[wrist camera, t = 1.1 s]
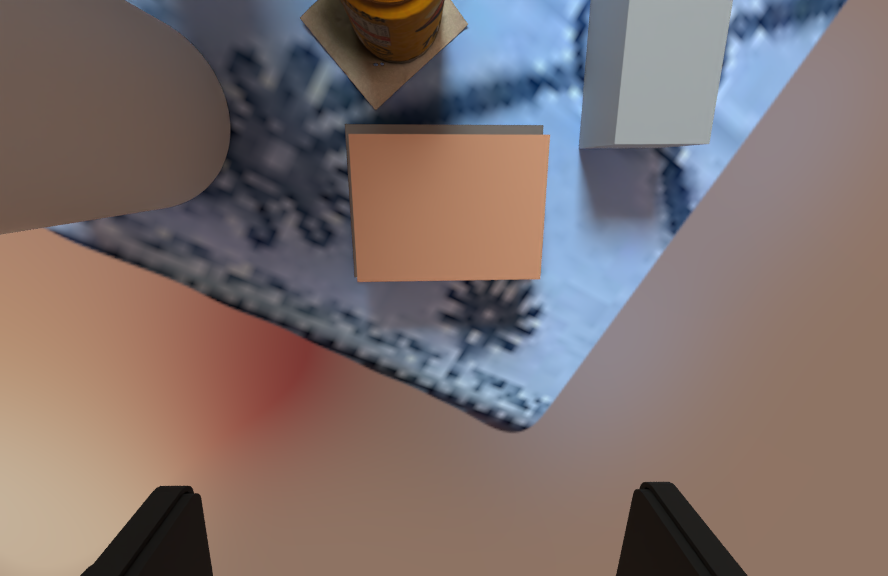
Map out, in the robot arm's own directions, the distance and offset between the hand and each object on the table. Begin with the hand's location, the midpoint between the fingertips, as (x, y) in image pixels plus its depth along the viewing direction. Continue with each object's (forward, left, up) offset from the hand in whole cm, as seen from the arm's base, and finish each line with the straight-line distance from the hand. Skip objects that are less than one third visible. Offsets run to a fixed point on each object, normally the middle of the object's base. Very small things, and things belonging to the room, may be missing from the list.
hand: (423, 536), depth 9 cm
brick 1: (-5, +2, -24) cm, 24 cm away
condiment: (-17, -2, -25) cm, 30 cm away
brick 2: (-14, +15, -25) cm, 32 cm away
